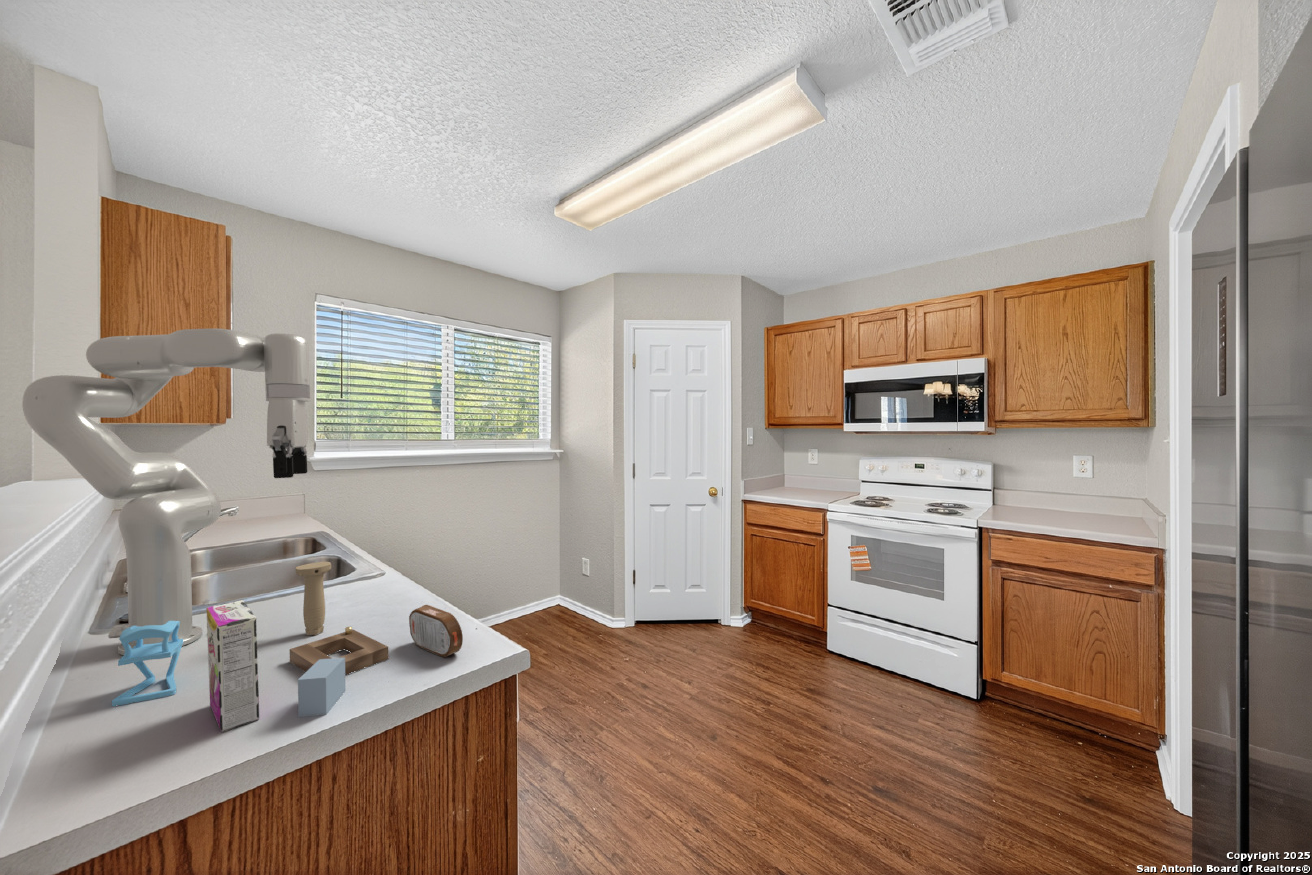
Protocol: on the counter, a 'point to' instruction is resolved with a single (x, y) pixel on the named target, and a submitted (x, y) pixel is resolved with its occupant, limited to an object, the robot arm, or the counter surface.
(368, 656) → the socket block
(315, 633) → the handle
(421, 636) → the tin
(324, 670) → the blue peg
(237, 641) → the candy bar box
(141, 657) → the chair
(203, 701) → the counter surface
